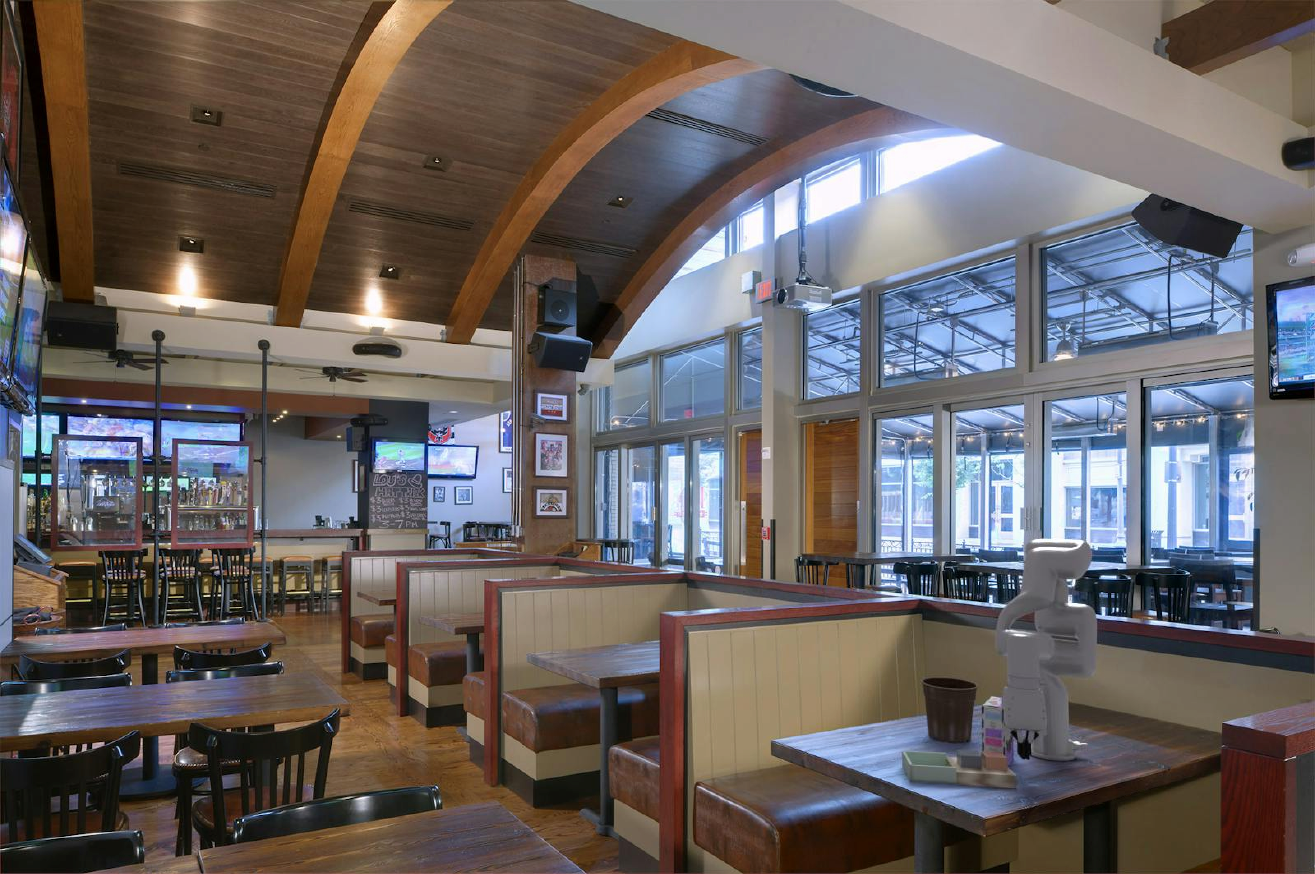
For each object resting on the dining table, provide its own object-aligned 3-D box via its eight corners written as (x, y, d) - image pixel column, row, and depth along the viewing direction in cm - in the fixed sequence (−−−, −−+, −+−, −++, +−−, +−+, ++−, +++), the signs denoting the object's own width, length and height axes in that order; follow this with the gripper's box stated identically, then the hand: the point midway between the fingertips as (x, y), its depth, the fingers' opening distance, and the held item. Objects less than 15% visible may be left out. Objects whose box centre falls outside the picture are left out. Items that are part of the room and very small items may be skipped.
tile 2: (1001, 764, 214) (1001, 751, 214) (1007, 770, 209) (1006, 757, 209) (981, 762, 215) (981, 750, 215) (986, 768, 210) (986, 756, 210)
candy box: (1005, 772, 217) (1004, 707, 218) (981, 768, 220) (980, 704, 221) (1014, 759, 229) (1013, 697, 230) (991, 755, 232) (990, 695, 233)
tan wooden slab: (1001, 771, 217) (1001, 759, 218) (1016, 787, 205) (1015, 775, 205) (945, 768, 219) (945, 756, 220) (956, 784, 206) (956, 771, 207)
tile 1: (977, 762, 215) (976, 750, 215) (982, 768, 210) (981, 756, 210) (956, 761, 215) (956, 749, 216) (961, 767, 210) (961, 755, 211)
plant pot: (987, 746, 242) (986, 688, 243) (930, 744, 242) (930, 687, 243) (967, 731, 258) (967, 677, 259) (914, 729, 258) (914, 676, 259)
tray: (945, 768, 219) (945, 752, 220) (956, 784, 206) (956, 767, 207) (902, 765, 221) (902, 750, 221) (910, 781, 208) (910, 765, 208)
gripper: (1049, 682, 215) (1050, 756, 213) (988, 678, 217) (989, 752, 215) (1059, 687, 208) (1060, 764, 206) (996, 684, 210) (997, 760, 208)
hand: (1024, 757), depth 210 cm, fingers closed
